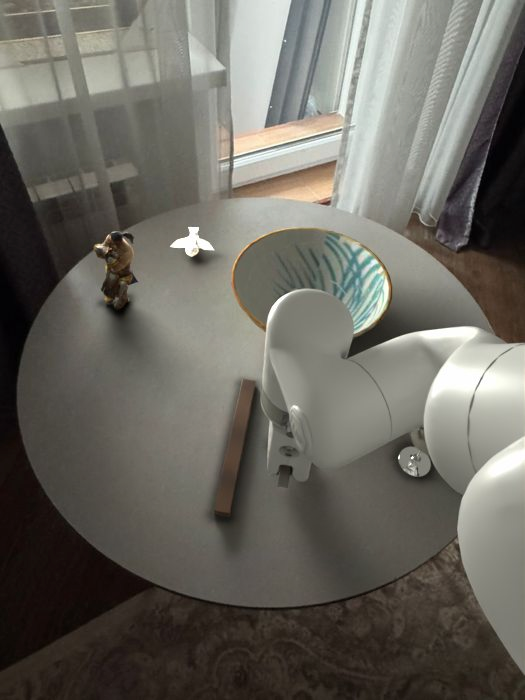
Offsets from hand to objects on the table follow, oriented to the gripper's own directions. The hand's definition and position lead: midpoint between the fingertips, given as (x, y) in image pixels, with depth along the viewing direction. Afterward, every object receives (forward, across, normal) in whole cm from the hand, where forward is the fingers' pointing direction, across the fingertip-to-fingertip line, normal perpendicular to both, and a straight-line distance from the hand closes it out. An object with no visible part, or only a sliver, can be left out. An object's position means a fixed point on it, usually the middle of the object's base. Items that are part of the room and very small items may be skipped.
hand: (283, 467), depth 66 cm
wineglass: (+2, +4, -18) cm, 18 cm away
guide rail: (+1, +3, +7) cm, 8 cm away
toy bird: (+2, +40, +21) cm, 45 cm away
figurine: (+2, +25, +30) cm, 39 cm away
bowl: (+2, +29, 0) cm, 29 cm away
